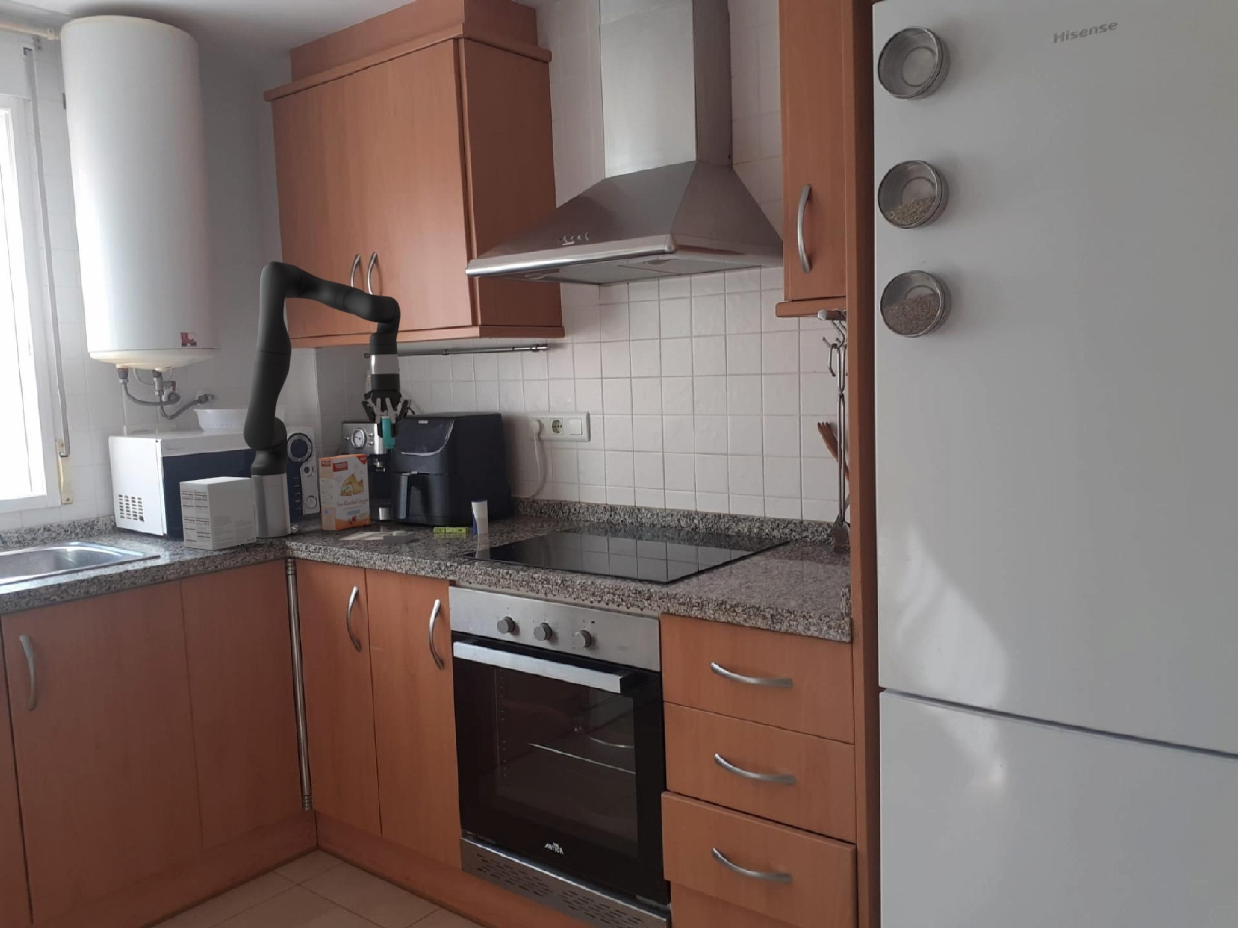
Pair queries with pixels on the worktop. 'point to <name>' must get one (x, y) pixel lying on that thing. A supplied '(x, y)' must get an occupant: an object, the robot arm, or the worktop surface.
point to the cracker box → (344, 491)
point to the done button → (399, 533)
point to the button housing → (399, 538)
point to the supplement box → (217, 512)
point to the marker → (387, 432)
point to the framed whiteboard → (366, 536)
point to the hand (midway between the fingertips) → (388, 437)
